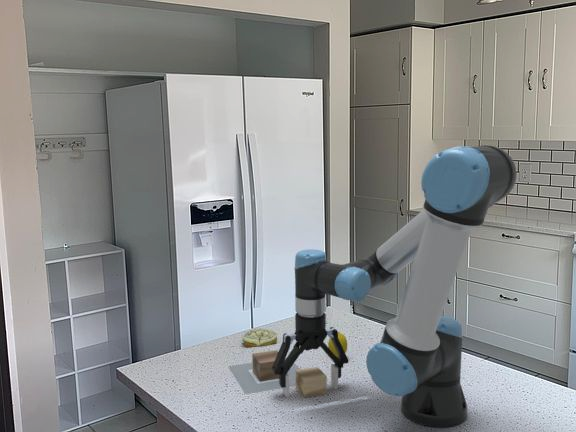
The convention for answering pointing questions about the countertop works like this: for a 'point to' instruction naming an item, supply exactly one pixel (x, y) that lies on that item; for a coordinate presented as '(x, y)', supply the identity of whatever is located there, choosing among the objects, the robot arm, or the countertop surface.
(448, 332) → the robot arm
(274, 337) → the decorated donut
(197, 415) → the countertop surface
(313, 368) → the oak cube
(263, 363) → the walnut base
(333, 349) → the lemon
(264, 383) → the grey square plate
